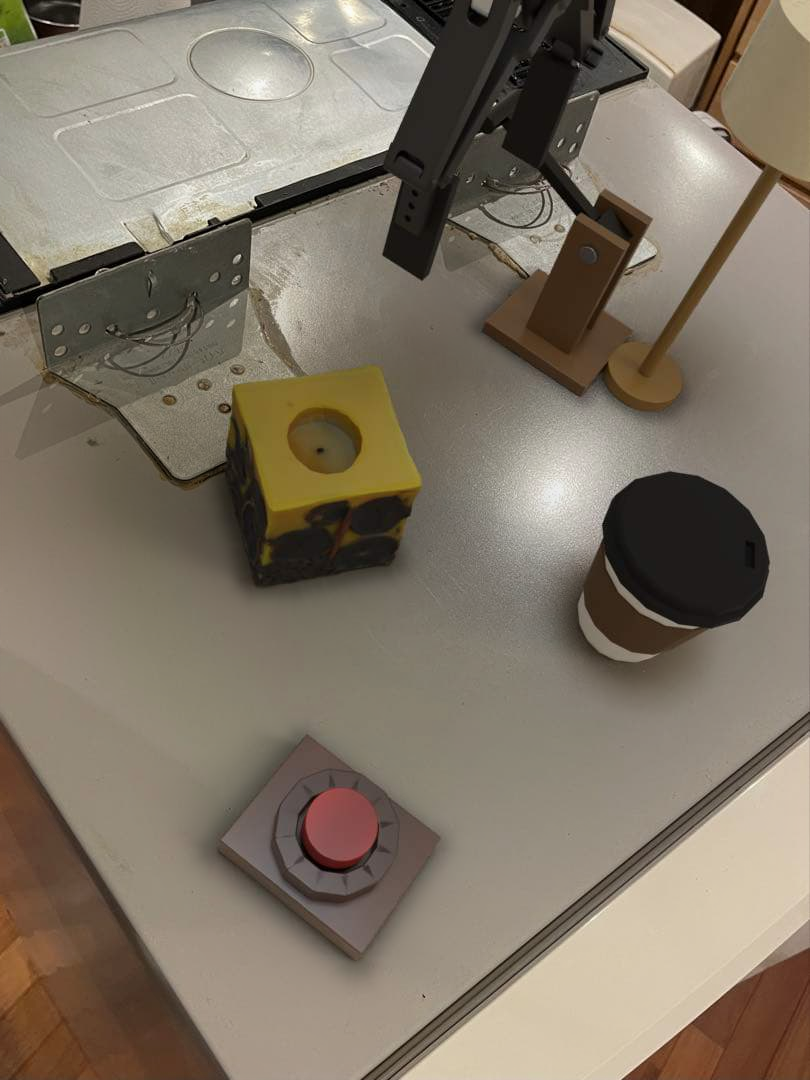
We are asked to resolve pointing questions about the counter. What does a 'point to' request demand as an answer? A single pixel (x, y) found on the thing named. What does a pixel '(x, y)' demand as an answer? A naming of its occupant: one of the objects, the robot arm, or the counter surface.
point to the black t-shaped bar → (555, 172)
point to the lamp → (786, 146)
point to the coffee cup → (670, 566)
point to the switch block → (302, 883)
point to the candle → (318, 474)
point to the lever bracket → (573, 301)
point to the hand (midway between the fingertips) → (467, 207)
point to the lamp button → (339, 828)
